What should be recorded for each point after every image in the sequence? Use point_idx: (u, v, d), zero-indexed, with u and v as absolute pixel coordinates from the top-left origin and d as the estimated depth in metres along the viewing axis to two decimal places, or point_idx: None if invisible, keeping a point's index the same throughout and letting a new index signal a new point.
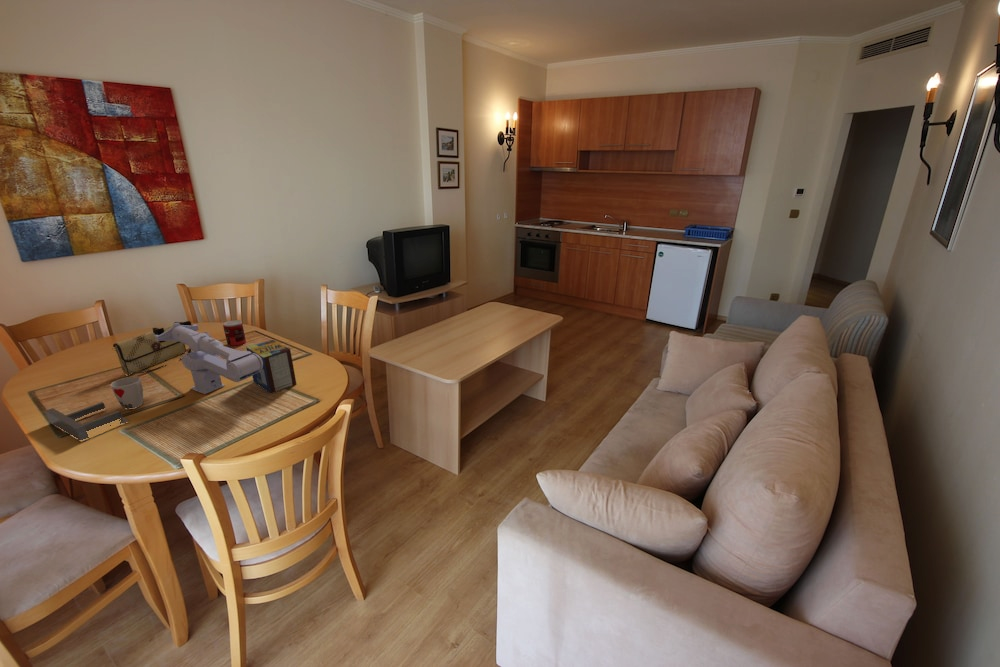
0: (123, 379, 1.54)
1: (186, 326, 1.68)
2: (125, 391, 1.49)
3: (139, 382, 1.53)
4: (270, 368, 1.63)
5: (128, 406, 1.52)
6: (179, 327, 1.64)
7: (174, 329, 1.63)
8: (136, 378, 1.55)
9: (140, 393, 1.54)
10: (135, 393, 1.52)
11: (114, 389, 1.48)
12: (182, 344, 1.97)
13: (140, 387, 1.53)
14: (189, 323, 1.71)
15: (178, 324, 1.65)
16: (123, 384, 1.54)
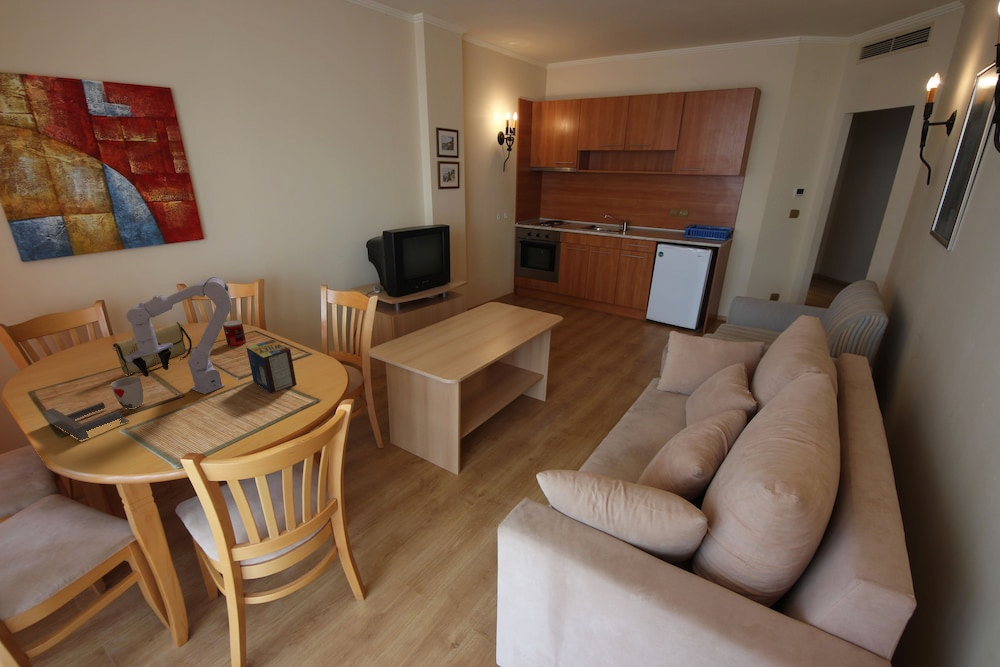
0: (123, 379, 1.54)
1: None
2: (125, 391, 1.49)
3: (139, 382, 1.53)
4: (270, 368, 1.63)
5: (128, 406, 1.52)
6: None
7: None
8: (136, 378, 1.55)
9: (140, 393, 1.54)
10: (135, 393, 1.52)
11: (114, 389, 1.48)
12: (182, 344, 1.97)
13: (140, 387, 1.53)
14: None
15: None
16: (123, 384, 1.54)
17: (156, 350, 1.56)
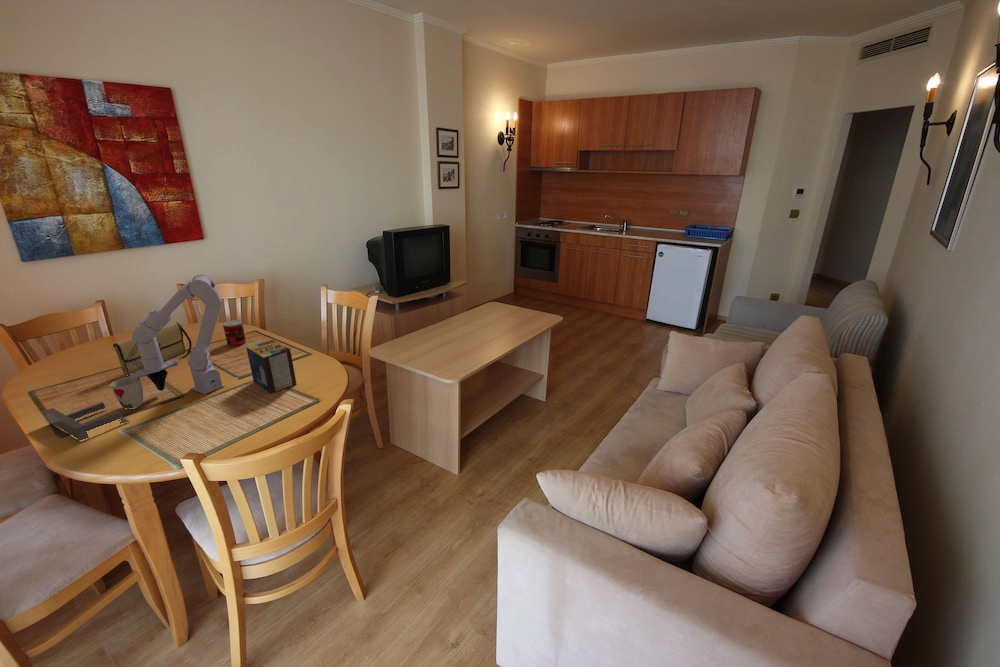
0: (123, 379, 1.54)
1: None
2: (125, 391, 1.49)
3: (139, 382, 1.53)
4: (270, 368, 1.63)
5: (128, 406, 1.52)
6: None
7: None
8: None
9: (140, 393, 1.54)
10: (135, 393, 1.52)
11: (114, 389, 1.48)
12: (181, 344, 1.97)
13: (140, 387, 1.53)
14: None
15: None
16: (123, 384, 1.54)
17: (161, 368, 1.58)
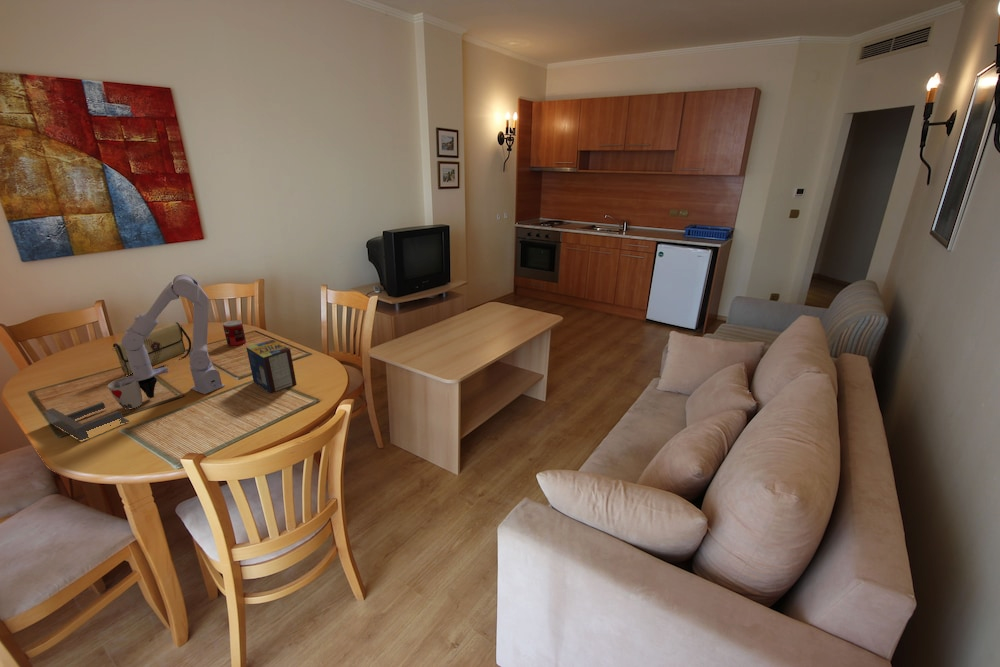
0: (120, 379, 1.53)
1: None
2: (122, 391, 1.49)
3: (136, 382, 1.52)
4: (270, 368, 1.63)
5: (127, 406, 1.52)
6: None
7: None
8: None
9: (138, 393, 1.53)
10: (133, 393, 1.51)
11: (111, 390, 1.48)
12: (181, 344, 1.97)
13: (137, 387, 1.53)
14: None
15: None
16: None
17: (150, 375, 1.56)
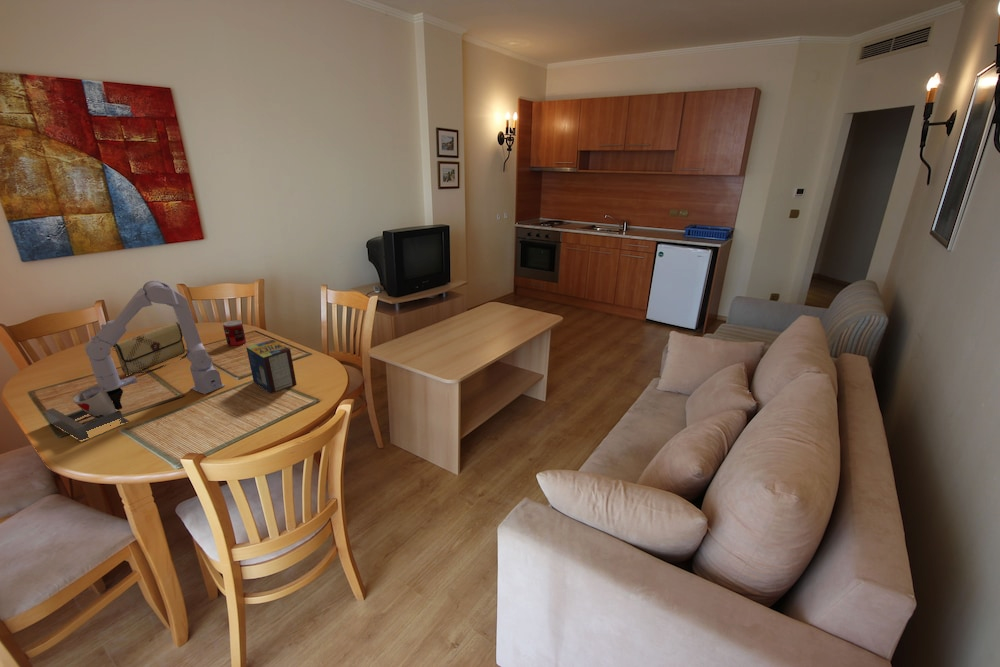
0: (86, 390, 1.45)
1: (119, 381, 1.51)
2: (89, 404, 1.41)
3: (102, 392, 1.44)
4: (270, 368, 1.63)
5: (100, 417, 1.45)
6: None
7: None
8: None
9: (108, 402, 1.46)
10: (102, 403, 1.44)
11: (78, 404, 1.40)
12: (181, 344, 1.97)
13: (105, 396, 1.45)
14: None
15: None
16: None
17: (117, 386, 1.47)
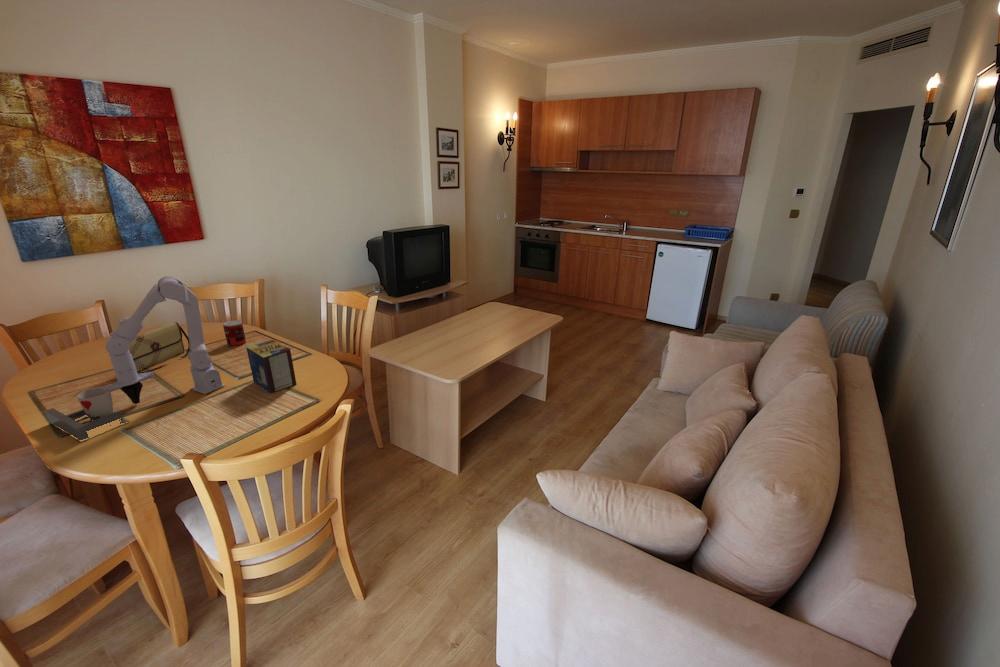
0: (91, 390, 1.46)
1: (137, 376, 1.56)
2: (92, 402, 1.42)
3: (108, 393, 1.45)
4: (270, 368, 1.63)
5: (96, 418, 1.44)
6: None
7: None
8: None
9: (109, 405, 1.46)
10: (104, 404, 1.44)
11: (81, 401, 1.41)
12: (181, 344, 1.97)
13: (109, 398, 1.46)
14: None
15: None
16: (91, 395, 1.47)
17: (135, 380, 1.52)
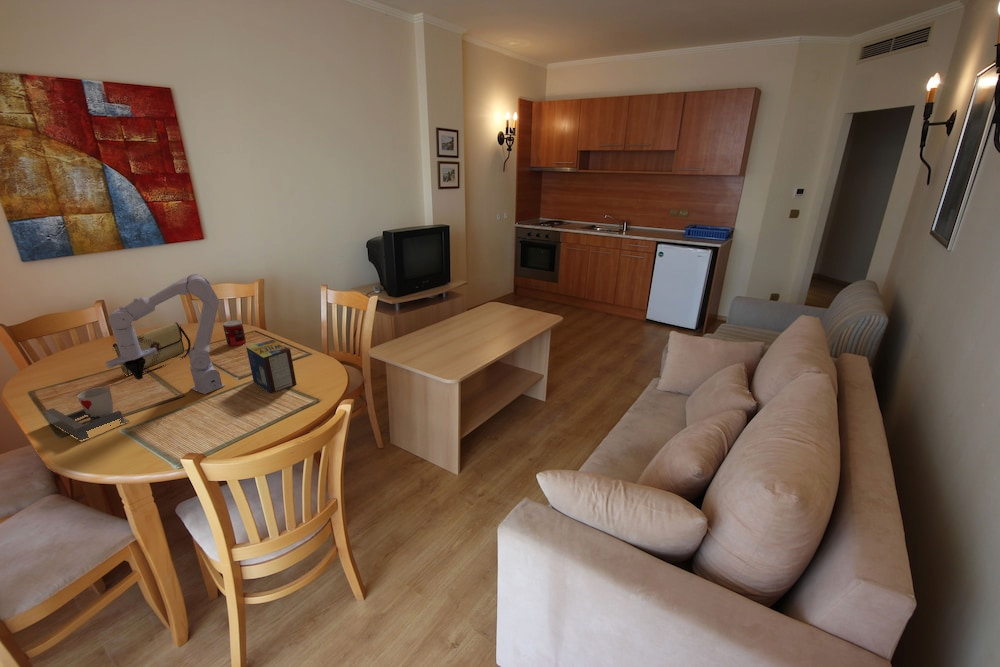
0: (92, 390, 1.47)
1: (140, 352, 1.55)
2: (92, 402, 1.42)
3: (108, 393, 1.45)
4: (270, 368, 1.63)
5: (96, 418, 1.44)
6: None
7: None
8: (105, 388, 1.48)
9: (109, 404, 1.46)
10: (104, 404, 1.44)
11: (81, 400, 1.41)
12: (180, 344, 1.97)
13: (109, 398, 1.46)
14: None
15: None
16: (91, 395, 1.47)
17: (138, 355, 1.51)
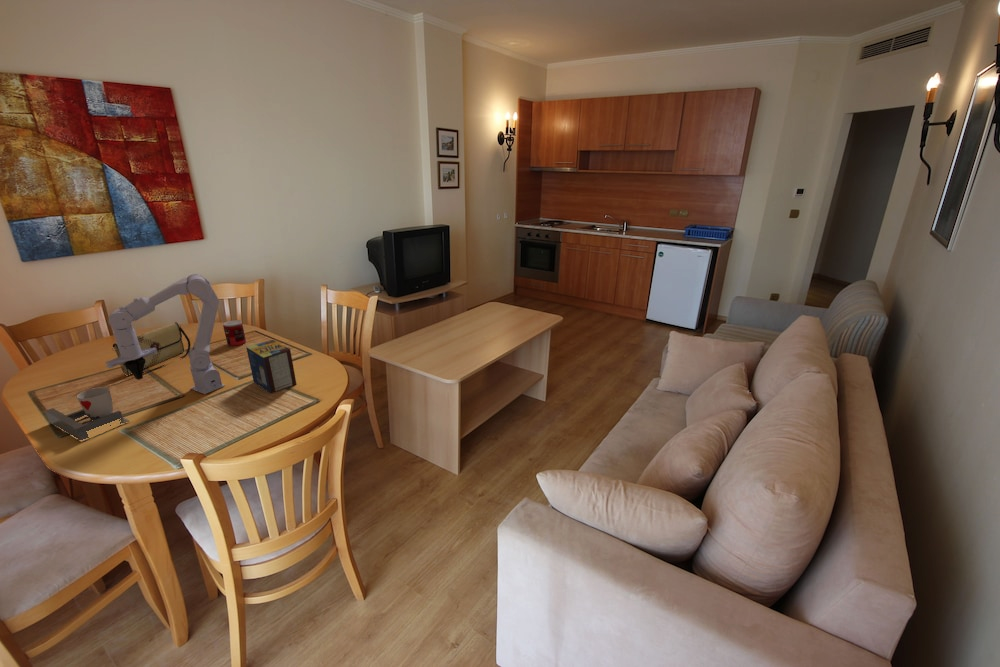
0: (91, 390, 1.46)
1: (140, 352, 1.55)
2: (92, 402, 1.42)
3: (108, 393, 1.45)
4: (270, 368, 1.63)
5: (96, 418, 1.44)
6: None
7: None
8: (105, 388, 1.48)
9: (109, 405, 1.46)
10: (103, 404, 1.44)
11: (80, 401, 1.41)
12: (180, 344, 1.97)
13: (109, 398, 1.46)
14: None
15: None
16: (91, 395, 1.47)
17: (138, 355, 1.51)
